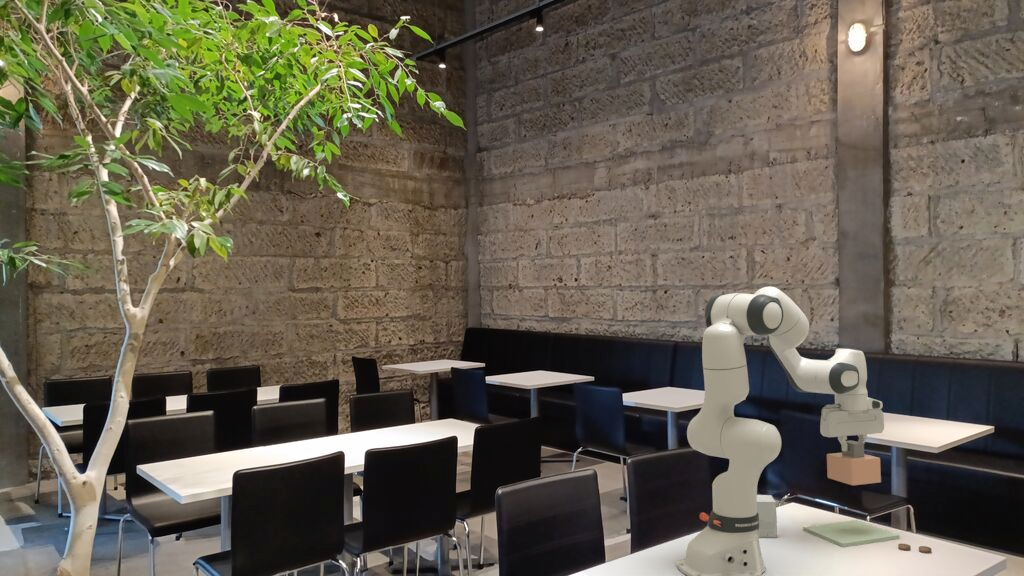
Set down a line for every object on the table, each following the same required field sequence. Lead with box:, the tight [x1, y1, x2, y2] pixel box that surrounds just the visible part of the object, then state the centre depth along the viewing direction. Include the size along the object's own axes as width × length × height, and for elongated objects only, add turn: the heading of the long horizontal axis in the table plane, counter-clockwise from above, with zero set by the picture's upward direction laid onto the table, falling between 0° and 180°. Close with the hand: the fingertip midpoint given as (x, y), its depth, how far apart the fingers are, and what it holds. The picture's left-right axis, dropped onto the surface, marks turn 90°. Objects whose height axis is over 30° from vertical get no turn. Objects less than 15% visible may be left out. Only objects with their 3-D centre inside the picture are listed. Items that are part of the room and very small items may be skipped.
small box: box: [757, 494, 778, 538], centre depth 214 cm, size 8×6×10 cm
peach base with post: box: [826, 440, 882, 486], centre depth 210 cm, size 10×10×11 cm
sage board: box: [803, 519, 901, 548], centre depth 211 cm, size 20×16×1 cm
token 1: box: [897, 543, 912, 552], centre depth 198 cm, size 3×3×1 cm
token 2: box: [918, 545, 932, 555], centre depth 196 cm, size 3×3×1 cm
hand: (852, 450), depth 211 cm, fingers closed on peach base with post, 3 cm apart
